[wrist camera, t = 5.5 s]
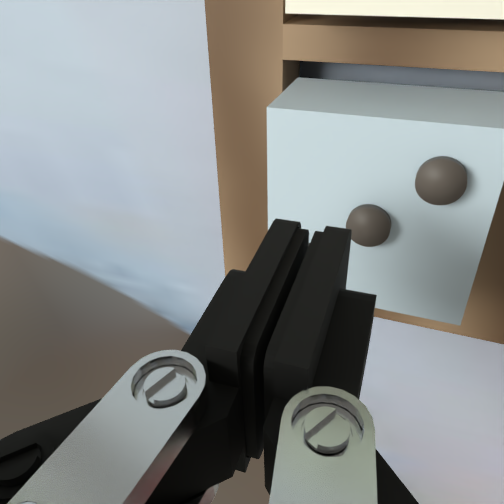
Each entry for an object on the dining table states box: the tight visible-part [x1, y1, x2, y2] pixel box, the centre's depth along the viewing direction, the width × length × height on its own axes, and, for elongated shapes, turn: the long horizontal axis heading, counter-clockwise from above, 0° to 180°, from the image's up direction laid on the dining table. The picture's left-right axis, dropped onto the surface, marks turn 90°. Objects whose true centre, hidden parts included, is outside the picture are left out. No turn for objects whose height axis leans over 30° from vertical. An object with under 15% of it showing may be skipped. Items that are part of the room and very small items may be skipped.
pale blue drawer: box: [267, 77, 504, 326], centre depth 14 cm, size 6×6×3 cm
